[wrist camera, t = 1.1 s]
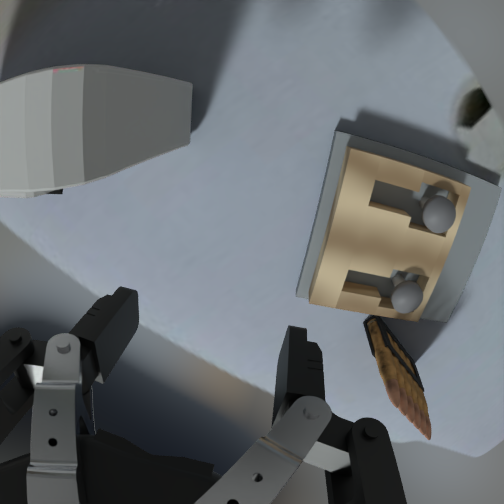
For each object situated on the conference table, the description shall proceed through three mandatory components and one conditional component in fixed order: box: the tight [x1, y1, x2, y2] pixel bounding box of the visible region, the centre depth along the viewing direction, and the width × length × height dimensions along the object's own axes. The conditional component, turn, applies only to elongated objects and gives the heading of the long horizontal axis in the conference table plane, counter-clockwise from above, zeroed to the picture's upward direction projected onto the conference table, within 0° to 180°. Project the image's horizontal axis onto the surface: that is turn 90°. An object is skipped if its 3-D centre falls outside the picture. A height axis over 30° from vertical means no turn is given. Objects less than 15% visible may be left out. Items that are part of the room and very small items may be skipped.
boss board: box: [296, 130, 502, 323], centre depth 26 cm, size 16×18×5 cm
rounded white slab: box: [0, 64, 193, 198], centre depth 19 cm, size 29×8×18 cm, turn 86°
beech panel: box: [308, 146, 471, 322], centre depth 26 cm, size 14×12×2 cm
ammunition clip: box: [363, 315, 431, 440], centre depth 28 cm, size 11×2×12 cm, turn 43°
